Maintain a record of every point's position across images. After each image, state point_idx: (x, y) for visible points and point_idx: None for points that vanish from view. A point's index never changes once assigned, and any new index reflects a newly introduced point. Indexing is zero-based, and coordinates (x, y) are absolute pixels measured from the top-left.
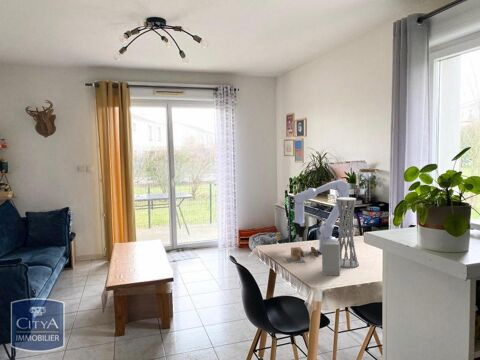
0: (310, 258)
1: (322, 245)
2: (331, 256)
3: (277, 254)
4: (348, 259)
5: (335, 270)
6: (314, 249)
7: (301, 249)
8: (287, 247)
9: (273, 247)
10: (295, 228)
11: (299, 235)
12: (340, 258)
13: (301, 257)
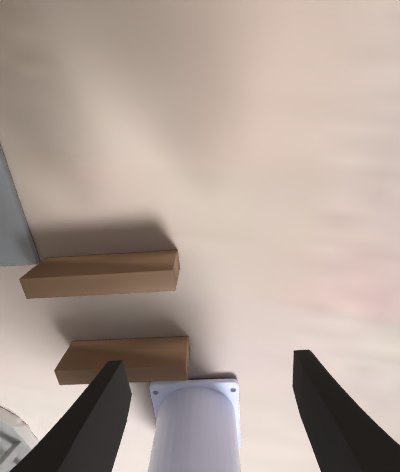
0: (30, 311)
1: None
2: None
3: (88, 52)
4: None
5: None
6: None
7: (99, 291)
8: (338, 180)
9: (369, 14)
10: (343, 440)
11: (92, 388)
12: (10, 448)
13: (14, 259)
